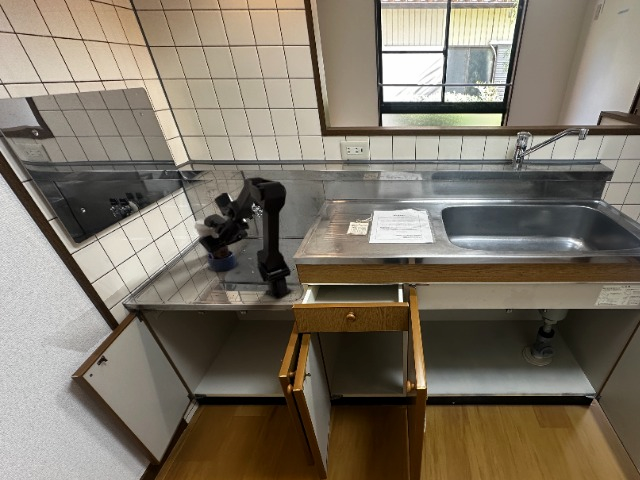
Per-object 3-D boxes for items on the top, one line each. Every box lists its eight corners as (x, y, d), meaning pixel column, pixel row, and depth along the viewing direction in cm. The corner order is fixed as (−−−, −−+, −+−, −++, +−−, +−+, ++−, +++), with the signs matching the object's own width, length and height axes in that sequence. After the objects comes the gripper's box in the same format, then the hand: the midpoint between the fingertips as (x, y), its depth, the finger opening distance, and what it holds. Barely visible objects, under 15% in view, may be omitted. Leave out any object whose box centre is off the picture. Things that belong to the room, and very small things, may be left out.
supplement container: (224, 260, 135) (218, 236, 129) (235, 263, 132) (230, 239, 127) (209, 265, 129) (202, 241, 124) (221, 269, 127) (215, 245, 122)
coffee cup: (222, 259, 136) (213, 225, 128) (198, 259, 135) (188, 224, 127) (231, 250, 144) (223, 217, 136) (208, 250, 143) (199, 217, 135)
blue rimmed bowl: (241, 265, 133) (238, 254, 130) (218, 273, 125) (215, 261, 123) (227, 258, 137) (224, 247, 134) (204, 266, 130) (201, 255, 127)
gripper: (235, 203, 125) (219, 226, 134) (195, 215, 110) (180, 240, 119) (256, 225, 127) (239, 247, 136) (219, 241, 112) (202, 264, 121)
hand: (216, 249), depth 128 cm, fingers closed on supplement container, 7 cm apart
